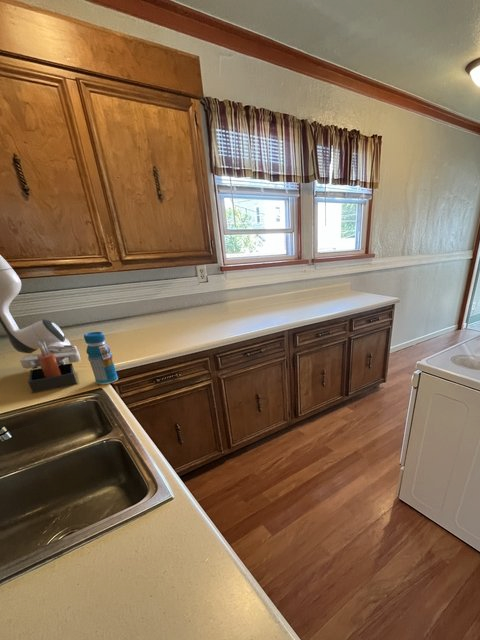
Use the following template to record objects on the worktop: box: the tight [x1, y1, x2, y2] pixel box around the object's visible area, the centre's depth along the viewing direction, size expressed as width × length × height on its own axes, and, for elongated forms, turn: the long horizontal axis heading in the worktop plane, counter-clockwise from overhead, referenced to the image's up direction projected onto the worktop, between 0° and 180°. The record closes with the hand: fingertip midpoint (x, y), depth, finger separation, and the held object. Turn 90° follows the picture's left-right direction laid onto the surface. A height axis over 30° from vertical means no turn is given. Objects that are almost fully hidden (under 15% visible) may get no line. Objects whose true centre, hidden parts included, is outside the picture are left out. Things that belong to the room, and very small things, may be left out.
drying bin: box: [27, 363, 78, 393], centre depth 133 cm, size 15×15×5 cm
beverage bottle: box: [83, 331, 119, 385], centre depth 131 cm, size 8×8×20 cm
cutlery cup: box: [37, 341, 62, 378], centre depth 130 cm, size 6×6×17 cm
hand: (48, 365), depth 130 cm, fingers open, 8 cm apart
